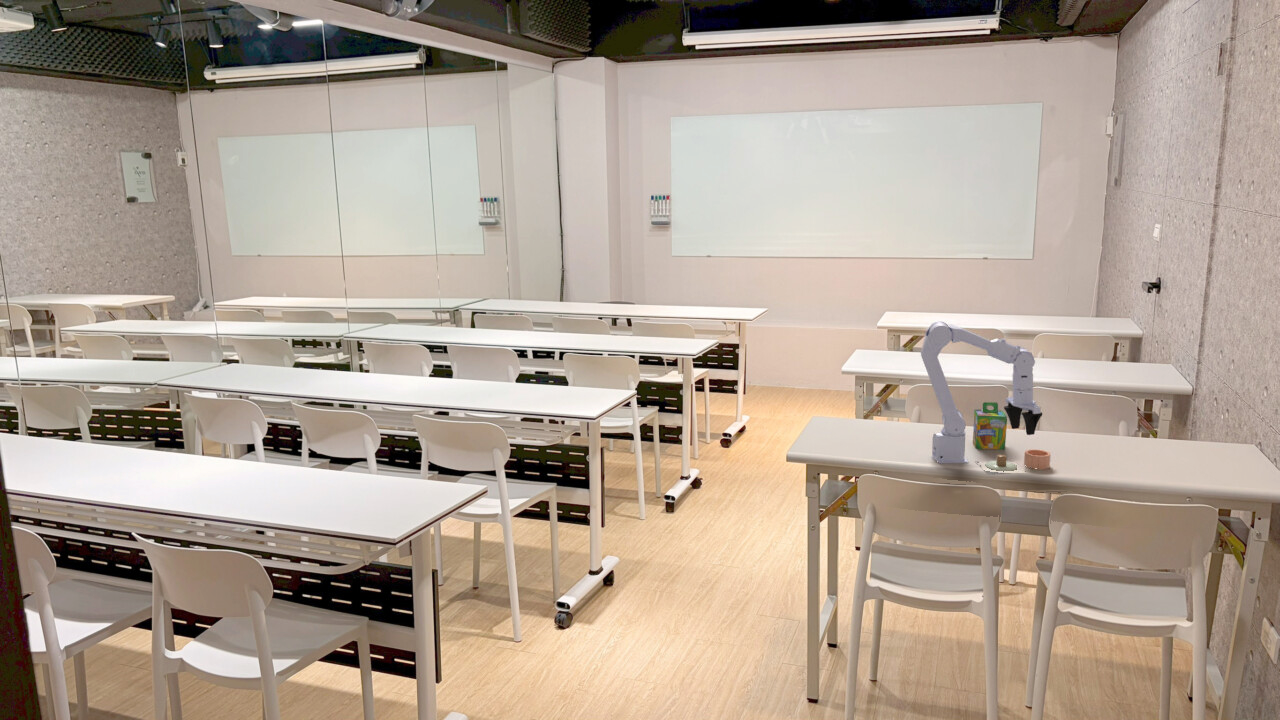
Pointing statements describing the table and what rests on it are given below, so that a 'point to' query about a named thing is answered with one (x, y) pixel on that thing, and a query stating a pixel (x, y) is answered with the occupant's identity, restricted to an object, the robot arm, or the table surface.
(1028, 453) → the bowl
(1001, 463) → the lid
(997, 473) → the mat
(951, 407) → the robot arm
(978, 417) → the chalk box
